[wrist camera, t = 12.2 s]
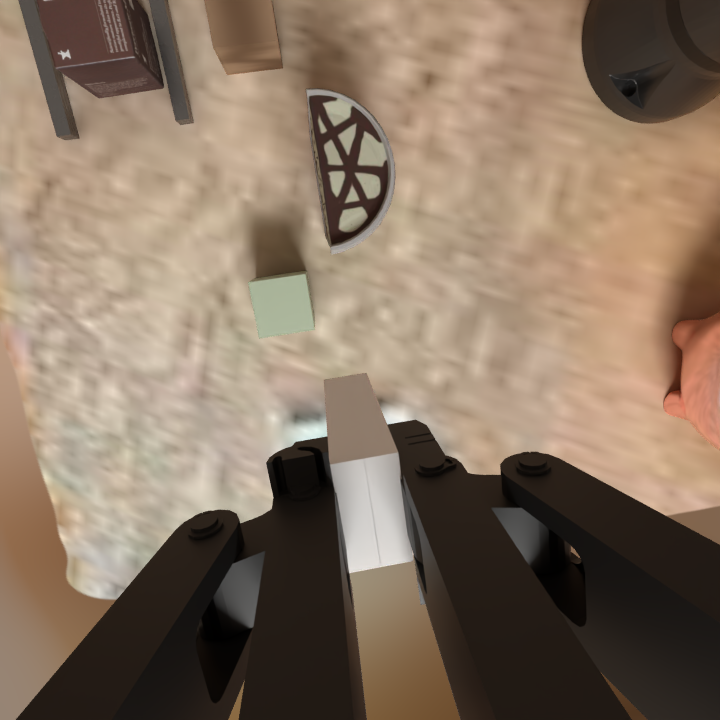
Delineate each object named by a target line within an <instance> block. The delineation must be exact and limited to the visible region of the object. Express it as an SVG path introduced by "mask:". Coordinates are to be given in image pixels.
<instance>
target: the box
mask: <svg viewBox="0 0 720 720" xmlns="http://www.w3.org/2000/svg"><path fill="white" fill-rule="evenodd" d="M36 3H37V6H38V10H39V13H40V20H41V25H42V28H43V30H44V32H45V34H46V38H47V42H48V45H49V49H50V52H51V56H52V60H53V63H54V66H55V68H56V69H57V70H59V71H61V72H62V73H63V74H64V75H66V76H67V77H69V78H70V79H72V80H73V81H75V82H76V83H78V84H79V85H80V86H82V87H83V88H85V89H86V90H88V91H89V92H90V93H92V94H93V95H95V96H96V97H98V98H104V97H111V96H117V95H124V94H130V93H137V92H143V91H149V90H156V89H163V88H164V84H163V79H162V75H161V70H160V65H159V61H158V56H157V52H156V48H155V43H154V39H153V35H152V31H151V28H150V22H149V19H148V15H147V14H146V12H145V11H144V10H143V8H142V7H141V6H140V4H139V3H138V1H137V0H36Z"/></svg>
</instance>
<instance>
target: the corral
mask: <svg viewBox="0 0 720 720" xmlns="http://www.w3.org/2000/svg"><path fill="white" fill-rule="evenodd" d="M149 2H150V7H151V11H152V16H153V20H154V25H155V29H156V34H157V38H158V43H159V47H160V52H161V57H162V61H163V66H164V70H165V75H166V79H167V84H168V88H169V93H170V97H171V102H172V106H173V111H174V115H175V120H176V121H177V122H178V123H179V124H180V125H183V124H190V123H194V122H193V117H192V113H191V108H190V103H189V99H188V94H187V89H186V85H185V80H184V75H183V71H182V66H181V61H180V56H179V52H178V47H177V42H176V38H175V33H174V28H173V24H172V19H171V14H170V10H169V5H168V0H149ZM19 4H20V7H21V11H22V14H23V18H24V21H25V25H26V29H27V32H28V36H29V39H30V43H31V46H32V50H33V53H34V57H35V61H36V64H37V68H38V71H39V75H40V78H41V82H42V85H43V89H44V93H45V96H46V100H47V103H48V107H49V110H50V114H51V118H52V121H53V125H54V128H55V132H56V135H57V137H59V138H62V139H64V140H71V139H78V138H79V135H78V132H77V128H76V124H75V121H74V117H73V113H72V109H71V106H70V102H69V98H68V95H67V91H66V87H65V84H64V80H63V76H62V72H61V71H59V70H57V69H56V68H55V66H54V63H53V60H52V56H51V52H50V49H49V45H48V42H47V38H46V34H45V32H44V30H43V28H42V25H41V20H40V13H39V10H38V6H37V3H36V0H19Z"/></svg>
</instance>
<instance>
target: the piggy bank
mask: <svg viewBox="0 0 720 720" xmlns="http://www.w3.org/2000/svg"><path fill="white" fill-rule="evenodd" d="M672 339H673V342H674V343H675V344H676V345H677V346H678V347H679V348H680V349H681V350H682V367H681V382H680V390H676V391H672V392H671V393H669V394H668V395H667V396H666V398H665V401H664V410H665V412H666V413H667V414H669V415H671V416H675V417H678V418H682V419H685V420H688V421H690V423H691V424H692V425H693V427H694V428H695V429H696V430H697V431H698V433H699V434H700V435H701V436H702V437H703V438H704V439H705V440H706V441H707V442H709V443H710V444H711V445H712V446H714V447H715V448H717V449H718V450H720V312H719V313H717V314H715V315H713V316H711V317H709V318H706V319H702V320H683V321H680V322H679V323H677V324H676V325H675V327H674V329H673V332H672Z"/></svg>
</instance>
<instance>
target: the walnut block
mask: <svg viewBox="0 0 720 720" xmlns="http://www.w3.org/2000/svg"><path fill="white" fill-rule="evenodd" d="M204 1H205V6H206V12H207V17H208V22H209V27H210V33H211V38H212V43H213V48H214V50H215V52H216V54H217V56H218V58H219V60H220V62H221V64H222V66H223V68H224V70H225V72H226V74H227V75H231V74H239V73H248V72H256V71H264V70H272V69H281V68H283V66H282V60H281V54H280V47H279V41H278V35H277V29H276V22H275V16H274V10H273V4H272V0H204Z"/></svg>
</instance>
